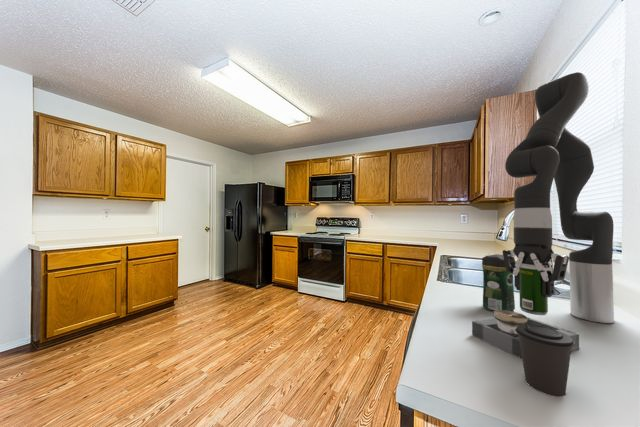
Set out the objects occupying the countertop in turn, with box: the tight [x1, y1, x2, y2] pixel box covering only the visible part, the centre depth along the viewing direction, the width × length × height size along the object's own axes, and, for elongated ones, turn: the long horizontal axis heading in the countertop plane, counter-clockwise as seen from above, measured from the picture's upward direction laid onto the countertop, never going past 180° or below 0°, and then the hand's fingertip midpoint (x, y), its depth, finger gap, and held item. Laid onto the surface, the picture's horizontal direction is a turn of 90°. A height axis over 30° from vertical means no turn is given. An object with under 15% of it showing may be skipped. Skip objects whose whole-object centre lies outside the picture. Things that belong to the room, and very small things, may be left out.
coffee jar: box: [481, 253, 516, 313], centre depth 85 cm, size 10×8×19 cm
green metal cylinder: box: [519, 263, 549, 316], centre depth 63 cm, size 5×5×12 cm
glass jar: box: [493, 310, 528, 338], centre depth 60 cm, size 6×6×7 cm
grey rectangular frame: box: [471, 316, 580, 360], centre depth 61 cm, size 17×13×4 cm
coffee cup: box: [515, 325, 576, 397], centre depth 45 cm, size 8×8×10 cm
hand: (533, 293), depth 63 cm, fingers closed on green metal cylinder, 5 cm apart
